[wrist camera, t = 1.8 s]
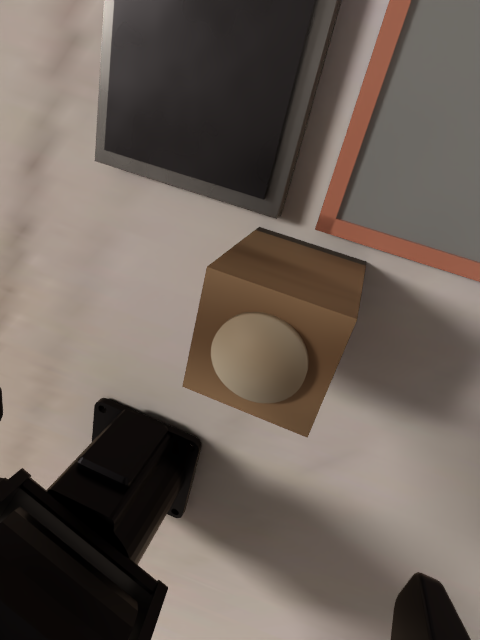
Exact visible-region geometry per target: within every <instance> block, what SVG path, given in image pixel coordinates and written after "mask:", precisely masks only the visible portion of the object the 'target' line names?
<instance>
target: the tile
mask: <svg viewBox="0 0 480 640" xmlns="http://www.w3.org/2000/svg"><path fill="white" fill-rule="evenodd" d="M315 230H318V231H321V232H325V233H328V234H331V235H334V236H337V237H340V238H343V239H347V240H350V241H353V242H356V243H359V244H362V245H366V246H369V247H372V248H375V249H378V250H381V251H384V252H388V253H391V254H394V255H397V256H400V257H403V258H407V259H410V260H413V261H416V262H419V263H422V264H425V265H429V266H432V267H435V268H438V269H441V270H444V271H447V272H451V273H454V274H457V275H460V276H463V277H466V278H470V279H473V280H476V281H479V282H480V0H390V1H389V4H388V7H387V10H386V13H385V16H384V19H383V22H382V25H381V29H380V32H379V35H378V38H377V41H376V44H375V47H374V50H373V53H372V56H371V59H370V62H369V65H368V68H367V71H366V75H365V78H364V81H363V84H362V87H361V90H360V93H359V96H358V99H357V102H356V105H355V108H354V111H353V114H352V118H351V121H350V124H349V127H348V130H347V133H346V136H345V139H344V142H343V145H342V148H341V151H340V154H339V157H338V160H337V164H336V167H335V170H334V173H333V176H332V179H331V182H330V185H329V188H328V191H327V194H326V197H325V200H324V203H323V206H322V210H321V213H320V216H319V219H318V222H317V225H316V228H315Z"/></svg>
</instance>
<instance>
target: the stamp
mask: <svg viewBox="0 0 480 640" xmlns="http://www.w3.org/2000/svg"><path fill="white" fill-rule="evenodd" d="M365 268H366V261H363V260H360V259H357V258H354V257H350V256H347V255H344V254H341V253H338V252H335V251H332V250H329V249H326V248H323V247H320V246H316V245H313V244H310V243H307V242H304V241H301V240H298V239H295V238H292V237H289V236H286V235H282V234H279V233H276V232H273V231H270V230H267V229H264V228H261V227H259V228H257V229H256V230H255V231H253V232H252V233H251V234H249V235H248V236H247V237H245V238H244V239H243V240H242V241H240V242H239V243H238V244H236V245H235V246H234V247H232V248H231V249H230V250H228V251H227V252H226V253H224V254H223V255H222V256H221V257H219V258H218V259H217V260H215V261H214V262H213V263H211V264H210V265H209V266H207V269H206V274H205V279H204V284H203V289H202V294H201V299H200V303H199V308H198V313H197V318H196V323H195V328H194V333H193V338H192V342H191V347H190V352H189V357H188V362H187V367H186V372H185V377H184V381H183V387H185V388H187V389H190V390H192V391H195V392H197V393H200V394H202V395H205V396H207V397H209V398H212V399H214V400H217V401H219V402H222V403H224V404H227V405H229V406H231V407H234V408H236V409H239V410H241V411H244V412H246V413H249V414H251V415H253V416H256V417H258V418H261V419H263V420H266V421H268V422H271V423H273V424H275V425H278V426H280V427H283V428H285V429H288V430H290V431H293V432H295V433H297V434H300V435H302V436H305V437H308V435H309V433H310V430H311V428H312V425H313V423H314V421H315V418H316V416H317V414H318V411H319V409H320V406H321V404H322V402H323V399H324V397H325V395H326V392H327V390H328V387H329V385H330V383H331V380H332V378H333V376H334V373H335V371H336V368H337V366H338V364H339V361H340V359H341V357H342V354H343V352H344V349H345V347H346V345H347V342H348V340H349V338H350V335H351V333H352V330H353V328H354V326H355V323H356V321H357V317H358V311H359V305H360V299H361V293H362V287H363V280H364V274H365Z"/></svg>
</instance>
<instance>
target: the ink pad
mask: <svg viewBox="0 0 480 640" xmlns="http://www.w3.org/2000/svg"><path fill="white" fill-rule="evenodd" d="M340 3H341V0H104V10H103V27H102V45H101V62H100V80H99V97H98V115H97V132H96V150H95V161H97V162H100V163H103V164H106V165H109V166H112V167H116V168H119V169H122V170H125V171H128V172H131V173H135V174H138V175H141V176H144V177H147V178H150V179H153V180H157V181H160V182H163V183H166V184H169V185H172V186H175V187H179V188H182V189H185V190H188V191H191V192H194V193H197V194H201V195H204V196H207V197H210V198H213V199H216V200H219V201H223V202H226V203H229V204H232V205H235V206H238V207H241V208H245V209H248V210H251V211H254V212H257V213H260V214H264V215H267V216H270V217H273V218H276V219H277V218H278V217H279V216H280V215H281V214H282V210H283V207H284V203H285V200H286V196H287V192H288V189H289V185H290V182H291V178H292V175H293V171H294V167H295V164H296V160H297V157H298V153H299V150H300V146H301V142H302V139H303V135H304V132H305V128H306V125H307V121H308V118H309V114H310V110H311V107H312V103H313V100H314V96H315V93H316V89H317V85H318V82H319V78H320V75H321V71H322V68H323V64H324V60H325V57H326V53H327V50H328V46H329V43H330V39H331V36H332V32H333V28H334V25H335V21H336V18H337V14H338V11H339V7H340Z"/></svg>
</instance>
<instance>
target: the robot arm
mask: <svg viewBox="0 0 480 640" xmlns="http://www.w3.org/2000/svg"><path fill="white" fill-rule="evenodd" d="M104 407H105V408H104ZM2 415H3V404H2V390H1V388H0V421H1V418H2ZM190 444H191V445H193V446H191V445H190ZM201 447H202V443H201V441H200V440H199V439H198V438H197V437H195V436H193V435H191V434H188V433H186V432H184V431H181V430H179V429H177V428H174V427H172V426H170V425H167V424H165V423H163V422H160V421H158V420H156V419H153V418H151V417H149V416H146V415H144V414H142V413H139V412H137V411H135V410H132V409H130V408H128V407H125V406H123V405H121V404H118V403H116V402H114V401H112V400H109V399H107V398H101V399H100V400H99V401H98V402H97V403H96V404H95V408H94V421H93V434H92V443H91V444H90V445H89V446H88V447H87V448H86V449H85V450H84V451H83V452H82V453H81V454H80V455H79V456H78V457H77V459H76V460H75V461H74V462H73V463H72V464H71V465H70V466H69V467H68V468H67V469H66V470H65V471H64V472H63V473H62V474H61V475H60V477H59V478H58V479H57V480H56V481H55V482H54V483H53V484H52V485H51V486H50V487H49V488H48V489H47V490H45V489H44V488H43V487H41V486H40V485H39V484H38V483H36V482H35V481H34V480H33V479H32V478H30V477H31V475H30V474H29V473H28V472H27V471H25V470H24V469H23V468H22V469H20V470H19V471H18V472H17V473H16V474H14V475H13V476H12V477H11V478H9V479H6V478H0V640H151V638H152V635H153V632H154V629H155V626H156V623H157V620H158V617H159V614H160V611H161V608H162V605H163V602H164V599H165V596H166V593H167V590H168V587H167V586H166V585H165V584H164V583H162V582H161V581H160V580H158V581H156V580H155V579H154V578H153V577H151V576H150V575H149V574H148V573H147V572H145V571H144V570H143V569H142V568H140V567H139V566H138V563H139V561H140V560H141V558H142V556H143V554H144V553H145V551H146V549H147V547H148V546H149V544H150V542H151V540H152V539H153V537H154V535H155V533H156V532H157V530H158V528H159V526H160V525H161V523H162V521H163V520H164V518H165V516H166V514H168V515H170V516H173V517H175V518H181V517H182V515H183V513H184V512H185V509H186V505H187V501H188V498H189V494H190V490H191V486H192V482H193V478H194V474H195V470H196V466H197V462H198V459H199V455H200V451H201ZM391 640H471V639H470V637H469V635H468V633H467V631H466V629H465V627H464V625H463V623H462V621H461V620H460V618H459V616H458V614H457V612H456V610H455V608H454V606H453V604H452V602H451V600H450V598H449V596H448V594H447V592H446V590H445V588H444V587H443V585H442V584H441V583H440V582H439V581H438V580H436V579H434V578H432V577H429V576H427V575H425V574H423V573H420V572H418V573H415V574H414V575H413V576H412V577H411V579H410V580H409V581H408V583H407V584H406V585H405V587H404V588H403V589H402V591H401V592H400V593H399V595H398V597H397V599H396V602H395V606H394V614H393V623H392V632H391Z"/></svg>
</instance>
